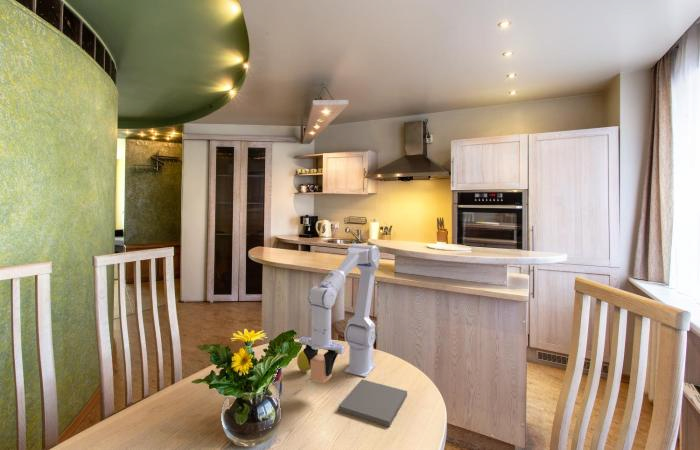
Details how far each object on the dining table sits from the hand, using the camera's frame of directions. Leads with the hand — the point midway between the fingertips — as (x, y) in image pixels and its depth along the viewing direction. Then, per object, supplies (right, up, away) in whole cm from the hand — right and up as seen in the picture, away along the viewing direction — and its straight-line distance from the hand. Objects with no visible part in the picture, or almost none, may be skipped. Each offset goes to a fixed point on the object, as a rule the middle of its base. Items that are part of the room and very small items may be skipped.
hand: (321, 372), depth 98 cm
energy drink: (-15, -8, +2) cm, 17 cm away
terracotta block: (0, -2, 0) cm, 2 cm away
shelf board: (+16, -8, -2) cm, 18 cm away
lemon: (-7, -7, +16) cm, 19 cm away
